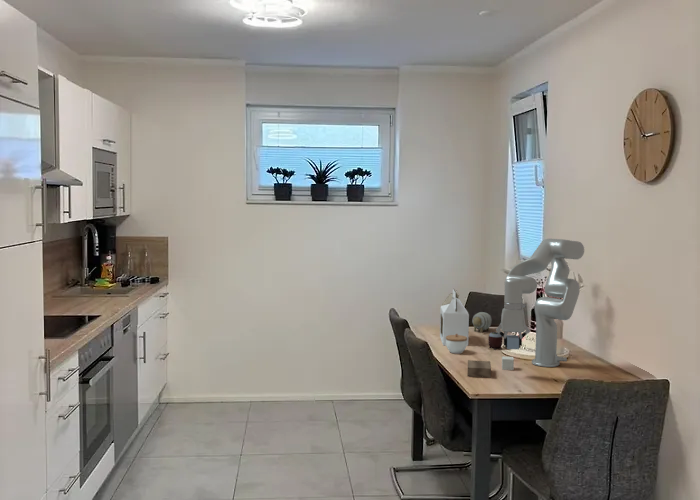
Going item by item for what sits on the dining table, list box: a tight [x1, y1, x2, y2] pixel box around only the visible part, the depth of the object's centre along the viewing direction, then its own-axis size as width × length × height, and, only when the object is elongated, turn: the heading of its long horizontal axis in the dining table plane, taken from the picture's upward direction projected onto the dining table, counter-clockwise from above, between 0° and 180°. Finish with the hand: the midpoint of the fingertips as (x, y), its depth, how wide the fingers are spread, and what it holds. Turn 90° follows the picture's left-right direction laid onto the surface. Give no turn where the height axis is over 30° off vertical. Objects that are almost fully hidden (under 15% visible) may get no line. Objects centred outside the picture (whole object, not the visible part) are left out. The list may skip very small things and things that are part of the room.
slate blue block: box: [506, 334, 520, 350], centre depth 289 cm, size 5×5×5 cm
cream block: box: [501, 355, 515, 371], centre depth 301 cm, size 5×5×5 cm
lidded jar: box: [445, 334, 467, 354], centre depth 332 cm, size 11×11×9 cm
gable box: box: [439, 288, 470, 347], centre depth 356 cm, size 22×13×28 cm, turn 177°
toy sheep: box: [472, 311, 493, 333], centre depth 385 cm, size 11×17×11 cm, turn 141°
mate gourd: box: [488, 322, 503, 351], centre depth 341 cm, size 8×8×15 cm
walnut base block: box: [466, 359, 492, 379], centre depth 293 cm, size 10×13×4 cm
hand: (512, 346), depth 290 cm, fingers closed on slate blue block, 4 cm apart
